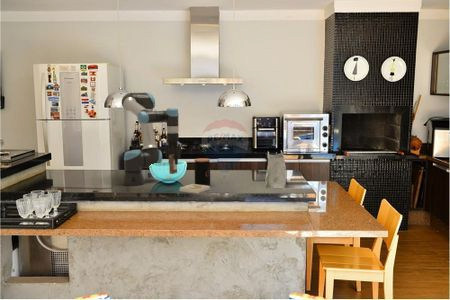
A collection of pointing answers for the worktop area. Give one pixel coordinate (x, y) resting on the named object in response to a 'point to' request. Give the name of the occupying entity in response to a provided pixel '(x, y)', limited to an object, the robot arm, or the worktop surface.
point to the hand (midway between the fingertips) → (173, 168)
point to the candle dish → (194, 188)
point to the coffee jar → (202, 171)
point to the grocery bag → (276, 171)
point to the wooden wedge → (171, 164)
